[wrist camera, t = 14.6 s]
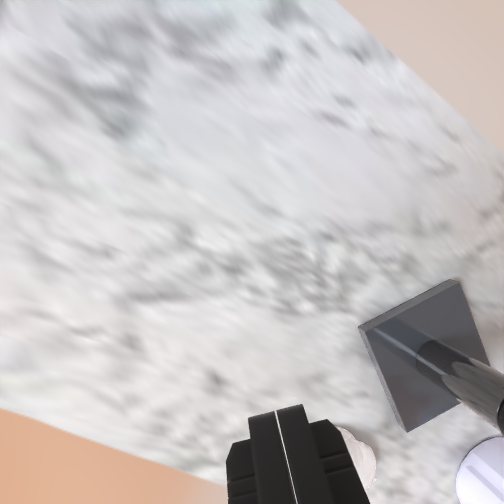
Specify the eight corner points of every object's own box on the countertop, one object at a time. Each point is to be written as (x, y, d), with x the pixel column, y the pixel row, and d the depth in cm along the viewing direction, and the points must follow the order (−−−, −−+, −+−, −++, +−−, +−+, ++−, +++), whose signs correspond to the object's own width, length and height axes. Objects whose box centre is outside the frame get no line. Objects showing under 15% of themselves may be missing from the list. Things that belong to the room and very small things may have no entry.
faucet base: (357, 326, 39) (431, 379, 28) (449, 279, 40) (557, 310, 29) (399, 424, 41) (484, 511, 30) (486, 376, 42) (600, 443, 31)
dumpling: (292, 467, 40) (300, 484, 36) (312, 413, 41) (322, 425, 37) (361, 495, 40) (376, 515, 36) (379, 441, 41) (396, 455, 37)
